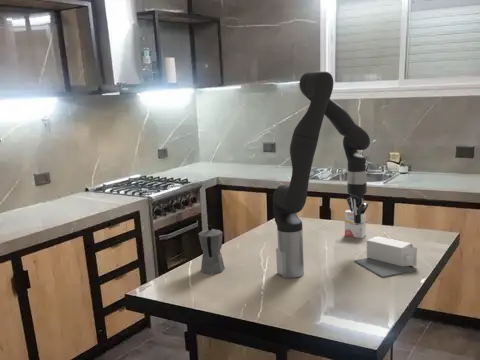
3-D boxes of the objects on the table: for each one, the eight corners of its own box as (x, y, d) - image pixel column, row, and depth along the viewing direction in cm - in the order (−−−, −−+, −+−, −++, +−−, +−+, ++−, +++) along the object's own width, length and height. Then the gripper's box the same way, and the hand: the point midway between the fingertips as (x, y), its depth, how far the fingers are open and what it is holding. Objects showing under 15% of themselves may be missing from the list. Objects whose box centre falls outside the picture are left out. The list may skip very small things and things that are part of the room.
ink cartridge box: (344, 236, 215) (343, 204, 212) (348, 233, 219) (347, 202, 216) (362, 238, 210) (362, 206, 207) (366, 235, 214) (366, 203, 212)
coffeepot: (202, 264, 189) (199, 221, 186) (225, 263, 189) (223, 220, 186) (198, 279, 174) (195, 232, 171) (224, 278, 174) (221, 231, 171)
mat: (382, 277, 166) (382, 276, 166) (354, 261, 183) (354, 260, 183) (415, 271, 170) (415, 269, 170) (385, 255, 187) (385, 254, 187)
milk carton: (376, 235, 188) (421, 245, 175) (376, 252, 190) (421, 263, 176) (366, 240, 184) (411, 250, 170) (366, 257, 185) (411, 268, 171)
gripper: (340, 180, 193) (341, 220, 197) (357, 185, 181) (358, 228, 184) (356, 178, 196) (356, 218, 199) (374, 183, 183) (374, 226, 186)
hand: (357, 223), depth 191 cm, fingers closed
